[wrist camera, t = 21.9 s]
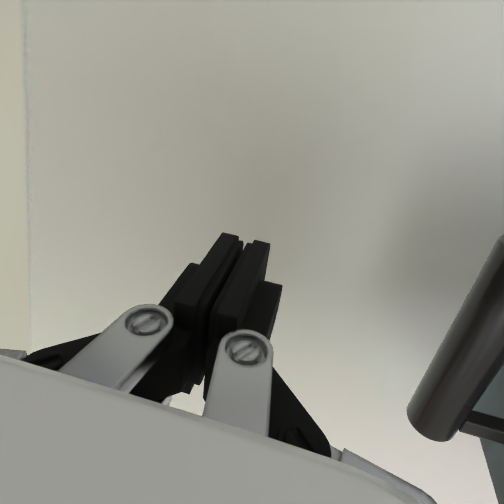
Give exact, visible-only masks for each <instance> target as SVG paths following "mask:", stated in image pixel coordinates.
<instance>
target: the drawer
mask: <svg viewBox="0 0 504 504" xmlns="http://www.w3.org/2000/svg"><path fill="white" fill-rule="evenodd" d="M407 416H408V419H409V421H410V423H411V424H412V426H413V427H414V428H415V429H416V430H417V431H418V432H419V433H420V434H422V435H423V436H425V437H426V438H428V439H430V440H433V441H438V442H445V441H448V440H450V439H452V438H453V436H454V435H455V434H456V432H457V431H458V429H459V431H460V432H463V433H466V434H470V435H473V436H477V437H479V438H480V441H481V445H482V448H483V451H484V455H485V458H486V462H487V465H488V469H489V472H490V476H491V479H492V482H493V486H494V489H495V493H496V496H497V500H498V503H499V504H504V235H502V236H501V237H500V238H499V239H498V240H497V242H496V244H495V246H494V248H493V250H492V251H491V253H490V255H489V257H488V259H487V261H486V262H485V264H484V266H483V268H482V270H481V272H480V273H479V275H478V277H477V279H476V281H475V283H474V285H473V286H472V288H471V290H470V292H469V294H468V296H467V297H466V299H465V301H464V303H463V305H462V307H461V308H460V310H459V312H458V314H457V316H456V318H455V319H454V321H453V323H452V325H451V327H450V329H449V330H448V332H447V334H446V336H445V338H444V340H443V342H442V343H441V345H440V347H439V349H438V351H437V353H436V354H435V356H434V358H433V360H432V362H431V364H430V365H429V367H428V369H427V371H426V373H425V375H424V376H423V378H422V380H421V382H420V384H419V386H418V387H417V389H416V391H415V393H414V395H413V397H412V399H411V400H410V402H409V404H408V406H407Z"/></svg>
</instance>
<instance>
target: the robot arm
mask: <svg viewBox="0 0 504 504" xmlns="http://www.w3.org/2000/svg"><path fill="white" fill-rule="evenodd" d="M269 251H270V243H266V242H262V241H258V240H254V241H253V243H247V244H246V246H245V248H244V250H243V241H239V237H238V236H236V235H232V234H227V233H222V234H221V235H220V236H219V238H218V239H217V241H216V242H215V244H214V245H213V246H212V248H211V249H210V251H209V252H208V254H207V255H206V256H205V258H204V259H203V261H202V262H201V264H200V265H199V264H195V263H190V264H189V265H188V266H187V267H186V269H185V270H184V271H183V273H182V274H181V275H180V277H179V278H178V279H177V281H176V282H175V283H174V285H173V286H172V287H171V289H170V290H169V291H168V293H167V294H166V295H165V297H164V298H163V299H162V301H161V302H160V303H159V305H155V304H143V305H138V306H135V307H132V308H130V309H129V310H127V311H126V312H124V313H123V314H122V315H121V316H120V317H119V318H118V319H116V320H115V321H114V322H113V323H112V324H111V325H110V326H108V327H107V328H106V329H105V330H104V331H103V332H102V333H99V334H95V335H92V336H88V337H84V338H81V339H77V340H73V341H70V342H66V343H62V344H59V345H55V346H51V347H48V348H44V349H41V350H38V351H36V352H33V353H32V354H30V355H27V353H26V351H21V350H9V349H0V504H437V503H436V502H435V501H434V499H433V498H432V497H431V496H429V495H428V494H426V493H425V492H424V491H422V490H421V489H419V488H417V487H415V486H414V485H412V484H410V483H408V482H406V481H404V480H402V479H401V478H399V477H397V476H395V475H393V474H391V473H389V472H388V471H386V470H384V469H382V468H380V467H378V466H377V465H375V464H373V463H371V462H369V461H367V460H365V459H364V458H362V457H360V456H358V455H356V454H354V453H352V452H351V451H349V450H347V449H345V448H344V450H343V452H341V451H340V450H338V449H336V448H334V447H332V446H330V444H329V442H328V440H327V438H326V436H325V435H324V433H323V432H322V431H321V429H320V428H319V427H318V425H317V424H316V423H315V421H314V420H313V419H312V417H311V416H310V415H309V414H308V412H307V411H306V410H305V408H304V407H303V406H302V404H301V403H300V402H299V400H298V399H297V398H296V397H295V395H294V394H293V393H292V391H291V390H290V389H289V387H288V386H287V385H286V383H285V382H284V381H283V379H282V378H281V377H280V376H279V374H278V373H277V372H276V370H275V369H274V368H273V347H272V345H271V343H270V341H269V340H270V337H271V333H272V330H273V326H274V323H275V319H276V315H277V311H278V306H279V302H280V297H281V292H282V285H280V284H276V283H272V282H268V281H264V280H265V274H266V268H267V262H268V256H269ZM204 375H205V379H204V392H203V399H204V400H205V402H206V403H205V407H204V411H203V415H202V416H199V415H196V414H193V413H189V412H186V411H183V410H180V409H177V408H173V407H170V406H169V404H170V402H171V400H172V395H174V394H177V393H180V392H184V393H187V394H190V392H191V390H192V388H193V386H194V384H196V385H200V384H201V382H202V380H203V378H204Z"/></svg>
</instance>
